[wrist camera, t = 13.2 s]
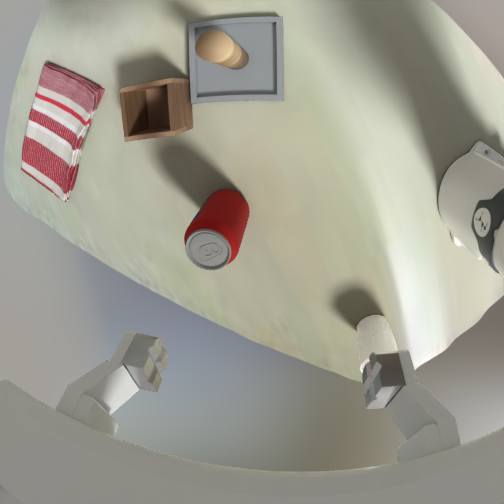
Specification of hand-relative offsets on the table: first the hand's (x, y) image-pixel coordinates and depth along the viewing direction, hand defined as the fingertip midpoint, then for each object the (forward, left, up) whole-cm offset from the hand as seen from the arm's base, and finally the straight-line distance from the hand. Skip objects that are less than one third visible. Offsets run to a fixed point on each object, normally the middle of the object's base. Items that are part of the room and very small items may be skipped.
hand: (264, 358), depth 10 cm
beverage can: (+8, +8, -31) cm, 33 cm away
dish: (+6, -14, -31) cm, 35 cm away
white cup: (-20, +32, -31) cm, 49 cm away
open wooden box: (+16, -8, -31) cm, 36 cm away
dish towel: (+40, -8, -32) cm, 52 cm away
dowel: (+6, -14, -30) cm, 34 cm away
